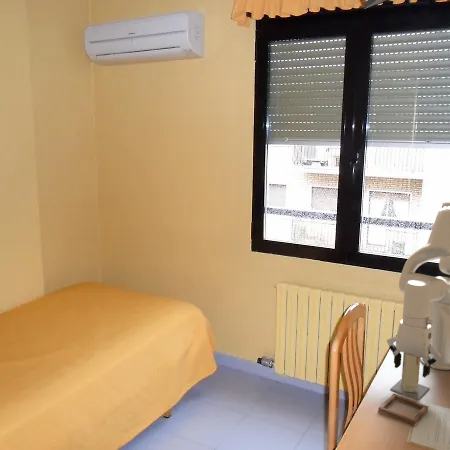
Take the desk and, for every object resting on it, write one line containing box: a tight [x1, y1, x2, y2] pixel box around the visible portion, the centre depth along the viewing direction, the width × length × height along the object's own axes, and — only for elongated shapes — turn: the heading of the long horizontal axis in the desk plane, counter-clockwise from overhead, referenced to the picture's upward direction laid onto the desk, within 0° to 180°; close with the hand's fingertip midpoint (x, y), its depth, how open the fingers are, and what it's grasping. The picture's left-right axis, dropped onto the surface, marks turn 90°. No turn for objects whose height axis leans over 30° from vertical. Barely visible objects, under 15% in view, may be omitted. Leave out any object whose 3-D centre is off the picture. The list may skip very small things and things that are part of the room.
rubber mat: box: [389, 378, 430, 401], centre depth 154 cm, size 9×9×1 cm
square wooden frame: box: [377, 393, 429, 428], centre depth 142 cm, size 11×11×2 cm
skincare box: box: [401, 352, 421, 393], centre depth 153 cm, size 6×4×12 cm
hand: (411, 370), depth 153 cm, fingers open, 8 cm apart
